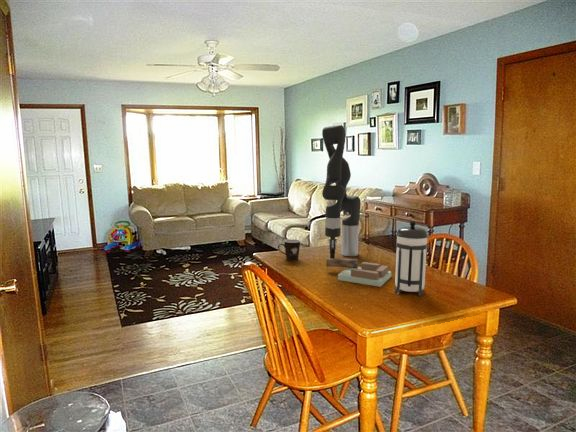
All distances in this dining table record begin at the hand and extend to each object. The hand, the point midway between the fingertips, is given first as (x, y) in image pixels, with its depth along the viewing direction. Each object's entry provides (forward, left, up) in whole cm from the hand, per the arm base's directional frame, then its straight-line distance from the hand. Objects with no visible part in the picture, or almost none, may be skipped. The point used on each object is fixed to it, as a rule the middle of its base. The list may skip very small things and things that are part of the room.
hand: (332, 260), depth 214 cm
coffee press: (+15, +42, -5) cm, 45 cm away
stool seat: (+6, +19, -5) cm, 20 cm away
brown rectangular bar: (+1, +6, -2) cm, 6 cm away
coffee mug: (-8, -28, -5) cm, 30 cm away
